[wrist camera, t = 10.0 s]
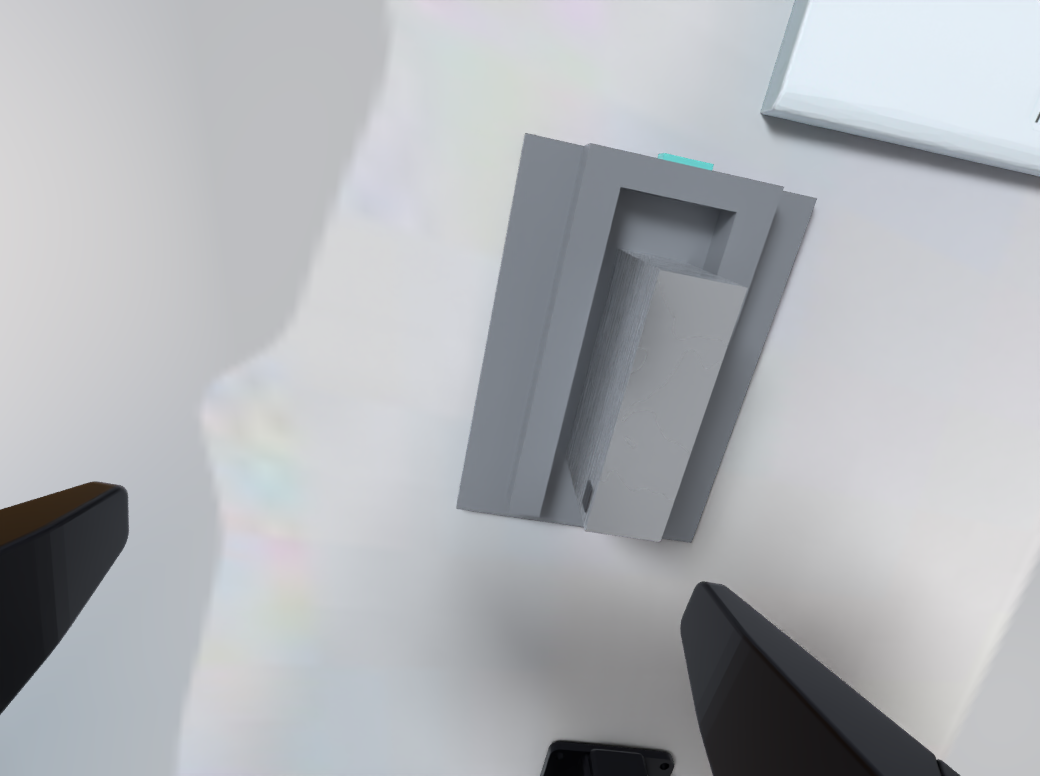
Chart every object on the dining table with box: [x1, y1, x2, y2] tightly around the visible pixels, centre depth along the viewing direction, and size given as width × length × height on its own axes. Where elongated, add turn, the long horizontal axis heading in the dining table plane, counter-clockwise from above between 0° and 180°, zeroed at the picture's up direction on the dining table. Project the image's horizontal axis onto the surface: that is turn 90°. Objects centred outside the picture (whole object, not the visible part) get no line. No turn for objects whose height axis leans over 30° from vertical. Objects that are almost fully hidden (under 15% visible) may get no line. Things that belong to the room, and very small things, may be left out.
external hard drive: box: [761, 0, 1040, 177], centre depth 17 cm, size 2×8×12 cm
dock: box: [456, 133, 817, 543], centre depth 20 cm, size 14×10×2 cm
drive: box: [565, 248, 747, 542], centre depth 18 cm, size 8×2×5 cm, turn 169°
